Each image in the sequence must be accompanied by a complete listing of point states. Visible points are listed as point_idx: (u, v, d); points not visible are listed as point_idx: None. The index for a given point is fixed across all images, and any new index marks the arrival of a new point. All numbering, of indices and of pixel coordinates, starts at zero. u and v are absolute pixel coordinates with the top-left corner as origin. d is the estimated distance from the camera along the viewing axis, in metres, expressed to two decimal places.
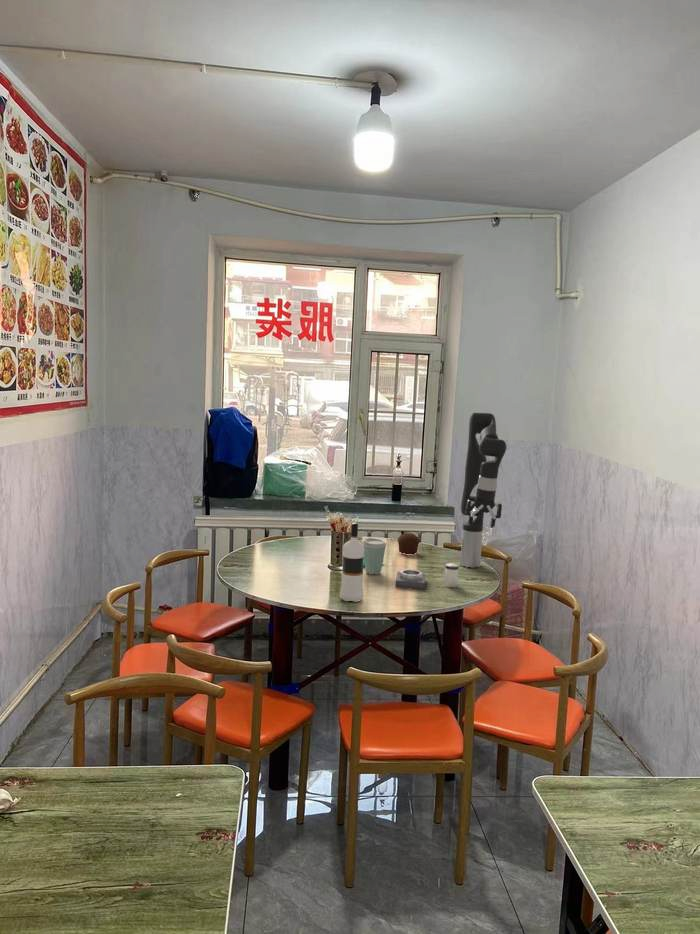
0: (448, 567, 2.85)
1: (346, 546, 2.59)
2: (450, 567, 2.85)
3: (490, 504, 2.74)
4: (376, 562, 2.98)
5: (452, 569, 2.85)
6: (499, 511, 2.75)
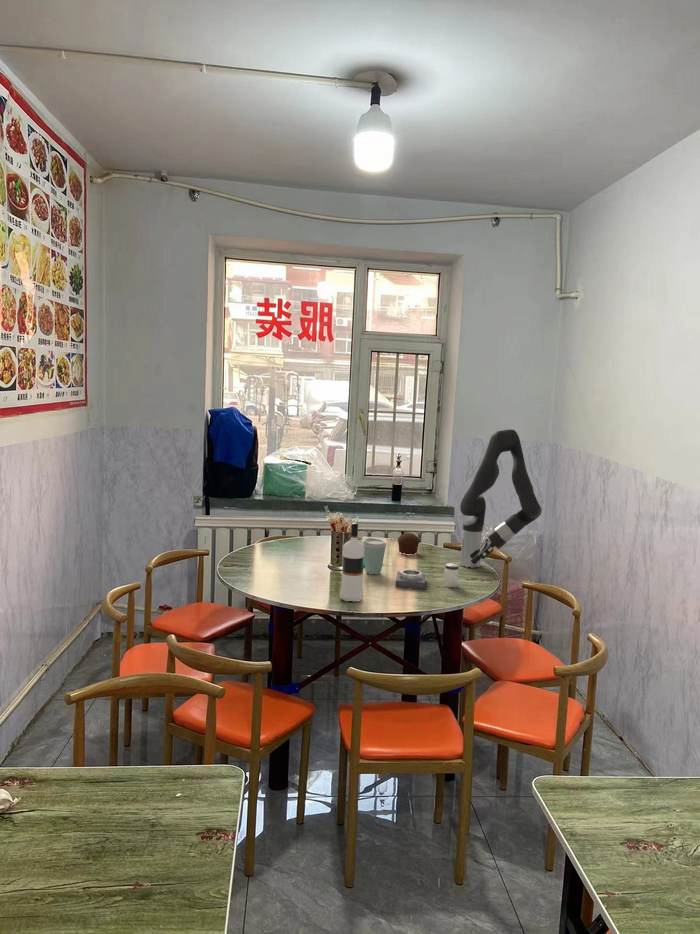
0: (448, 567, 2.85)
1: (346, 546, 2.59)
2: (450, 567, 2.85)
3: None
4: (376, 562, 2.98)
5: (452, 569, 2.85)
6: None
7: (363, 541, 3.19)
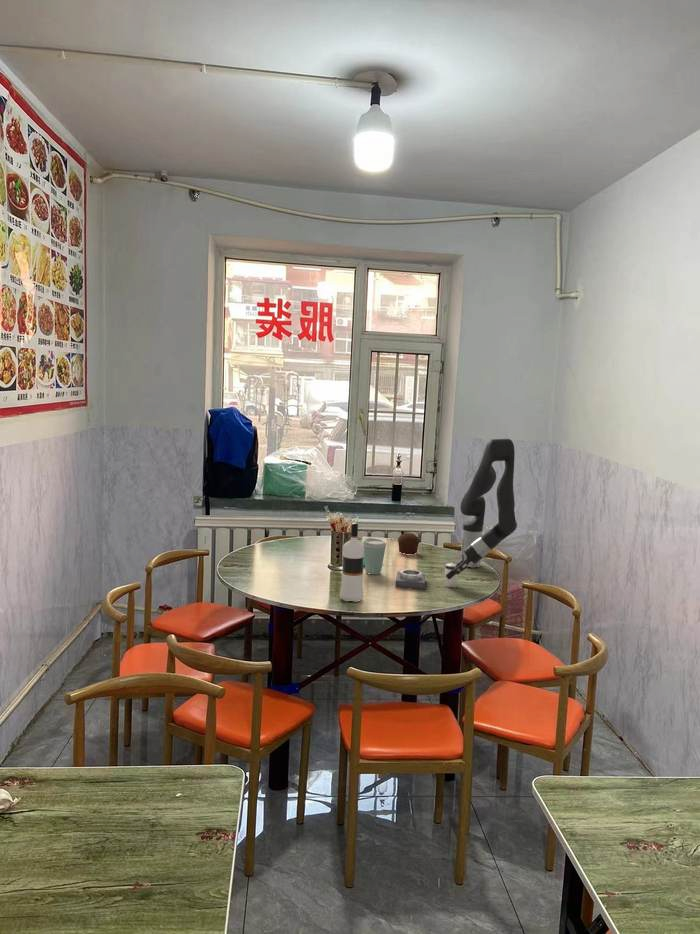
0: (448, 567, 2.85)
1: (346, 546, 2.59)
2: (450, 567, 2.85)
3: None
4: (376, 562, 2.98)
5: (452, 569, 2.85)
6: None
7: (362, 541, 3.19)
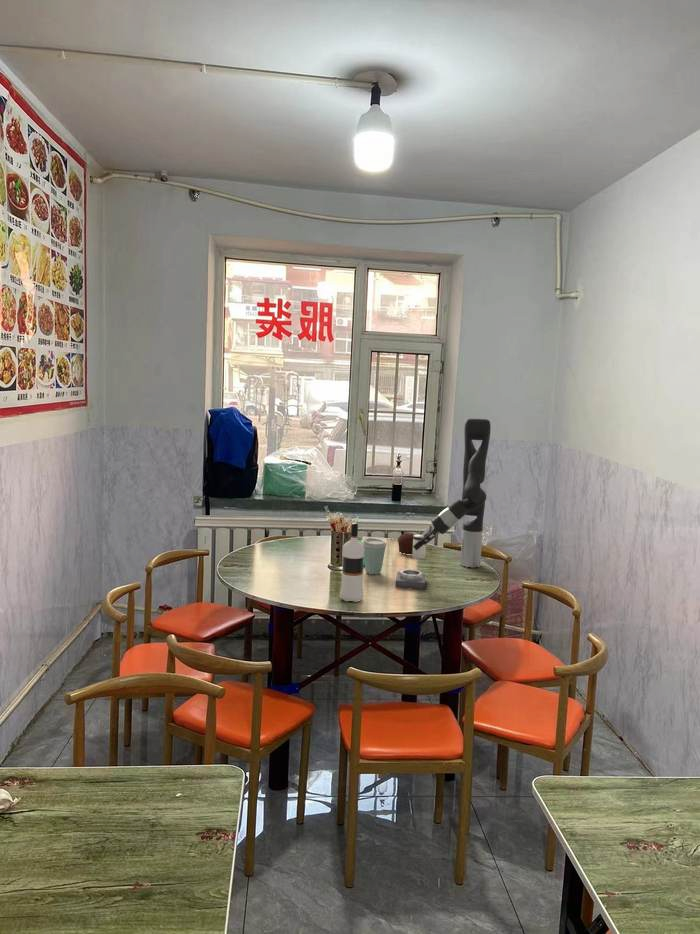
0: (415, 538, 2.83)
1: (346, 546, 2.59)
2: (418, 538, 2.83)
3: None
4: (376, 562, 2.98)
5: None
6: None
7: (362, 541, 3.19)
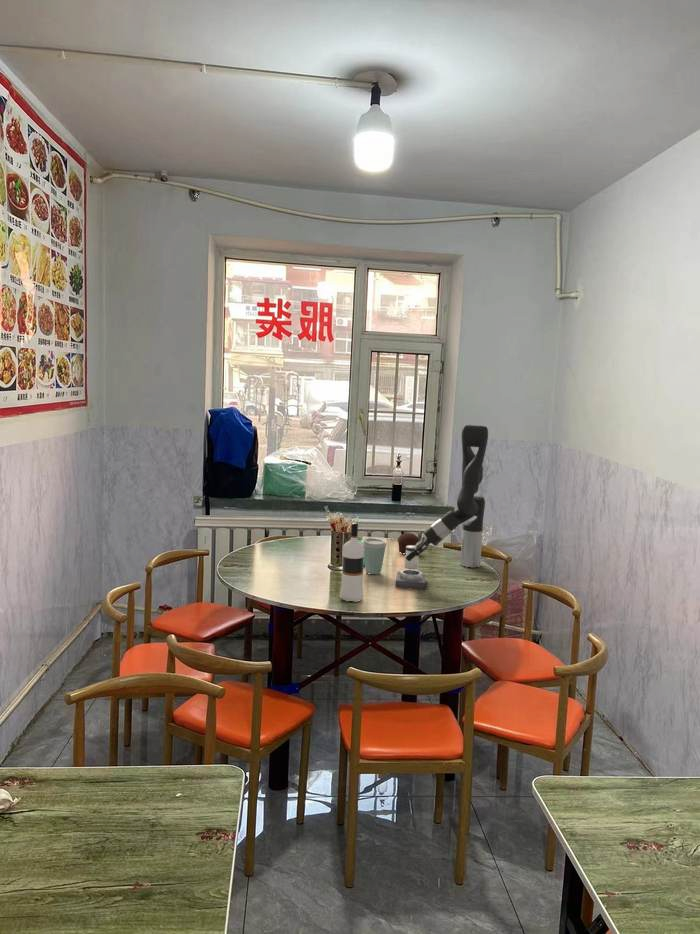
0: (408, 549, 2.84)
1: (346, 546, 2.59)
2: (410, 549, 2.84)
3: None
4: (376, 562, 2.98)
5: None
6: None
7: (361, 541, 3.19)
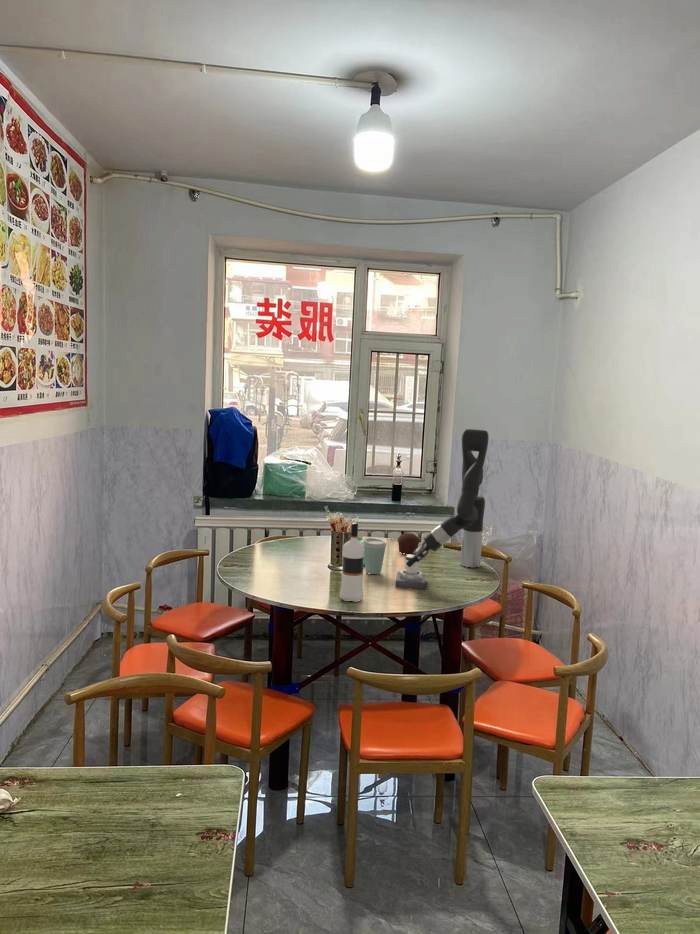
0: (408, 558, 2.84)
1: (346, 546, 2.59)
2: (410, 558, 2.84)
3: None
4: (376, 562, 2.98)
5: None
6: None
7: None
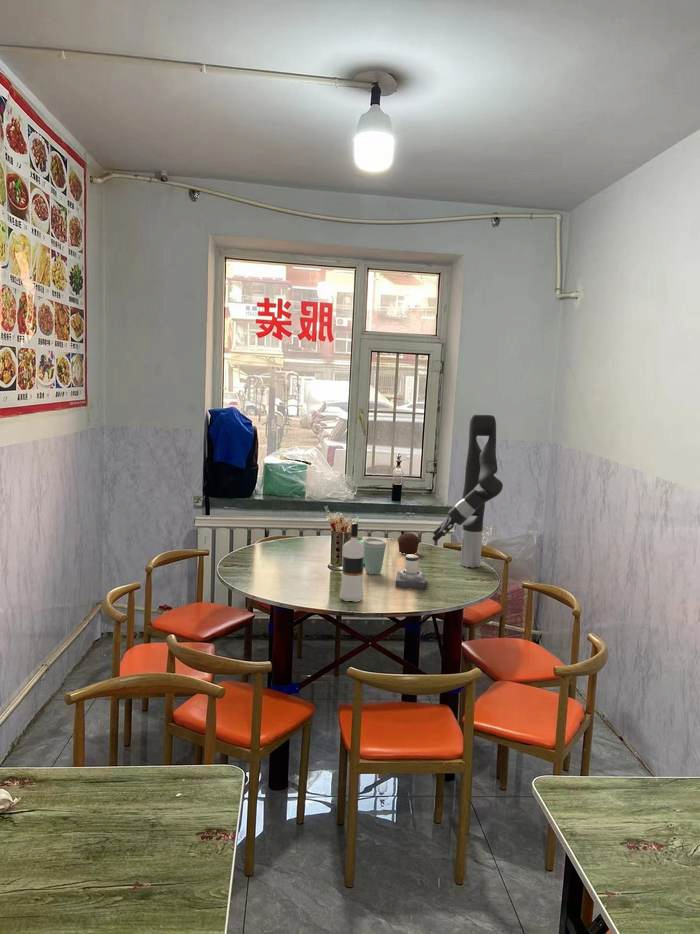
0: (408, 558, 2.84)
1: (346, 546, 2.59)
2: (410, 558, 2.84)
3: None
4: (376, 562, 2.98)
5: (412, 560, 2.84)
6: None
7: None
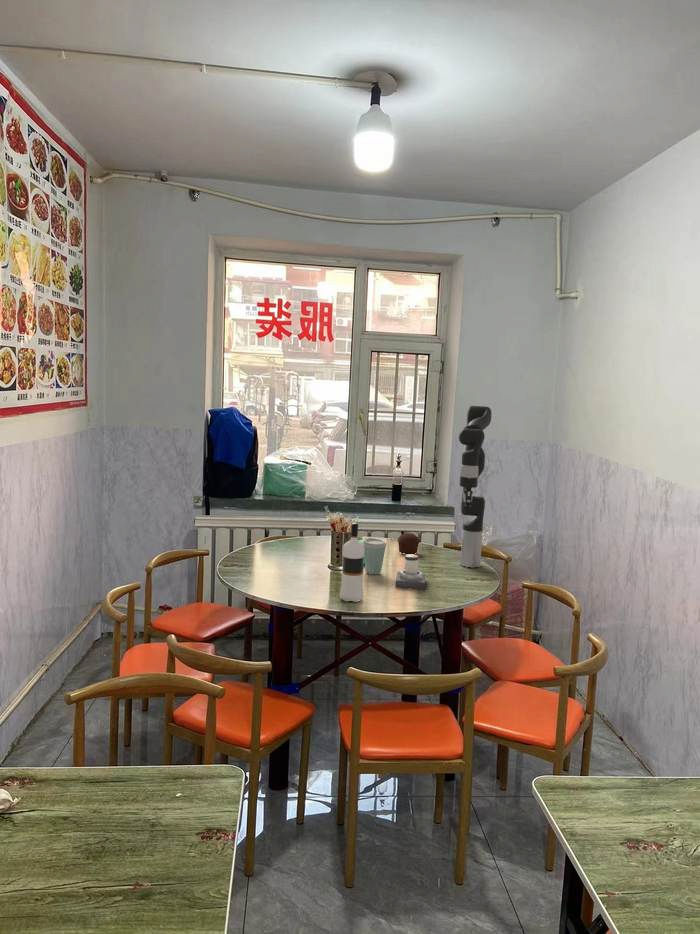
0: (407, 558, 2.85)
1: (346, 546, 2.59)
2: (409, 558, 2.84)
3: None
4: (376, 562, 2.98)
5: (411, 560, 2.84)
6: None
7: (360, 540, 3.20)
